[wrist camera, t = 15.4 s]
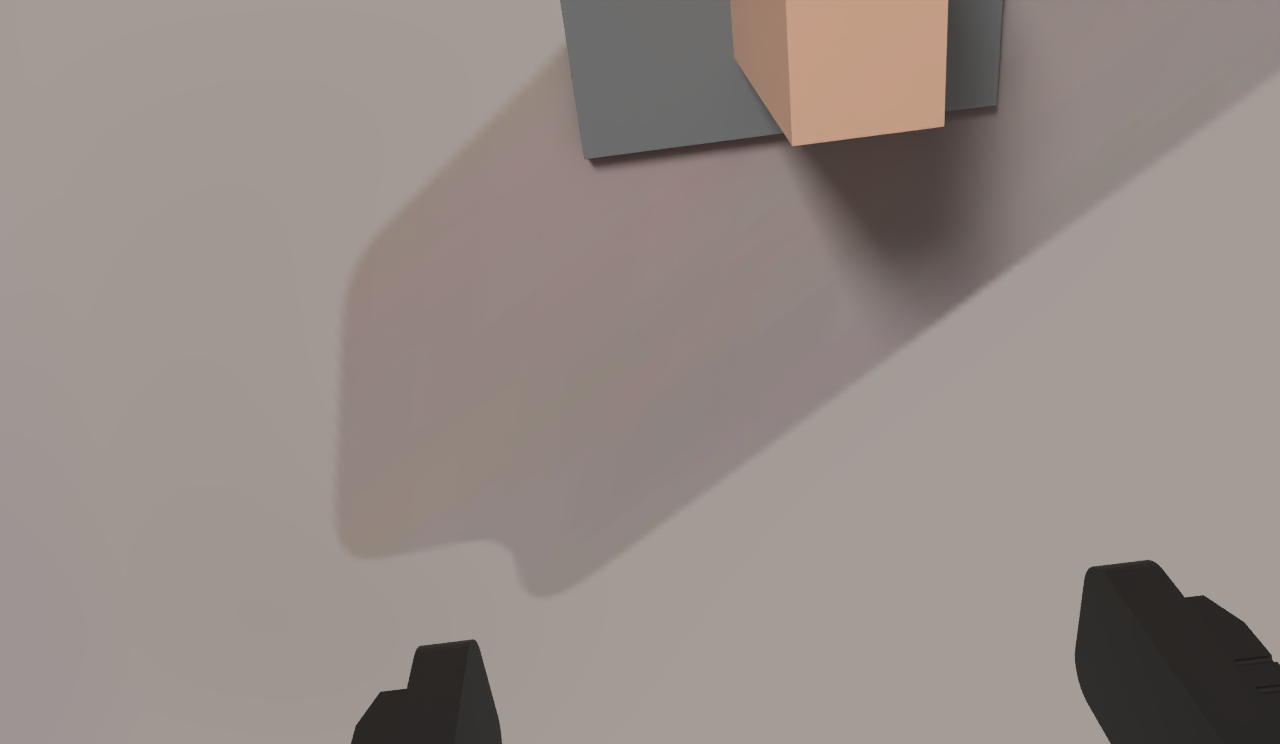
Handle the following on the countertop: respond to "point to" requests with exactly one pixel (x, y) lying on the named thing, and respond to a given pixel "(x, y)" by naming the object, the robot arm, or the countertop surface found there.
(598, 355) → the countertop surface
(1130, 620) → the robot arm
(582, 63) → the mat
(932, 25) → the salmon pink block
